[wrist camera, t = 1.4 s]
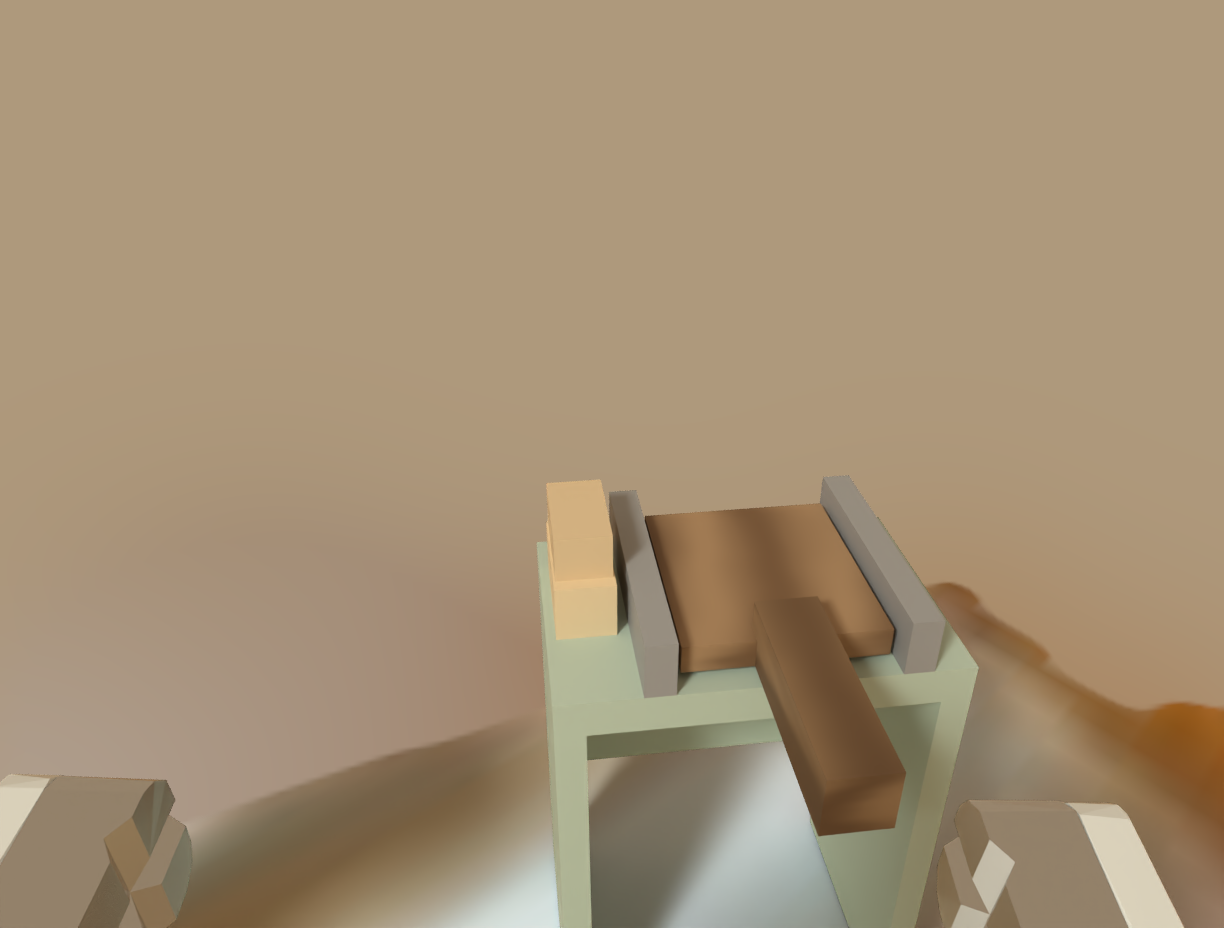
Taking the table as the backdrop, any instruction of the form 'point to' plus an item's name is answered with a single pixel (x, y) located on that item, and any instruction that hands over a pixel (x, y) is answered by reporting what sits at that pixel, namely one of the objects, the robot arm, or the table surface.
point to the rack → (733, 691)
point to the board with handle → (789, 644)
